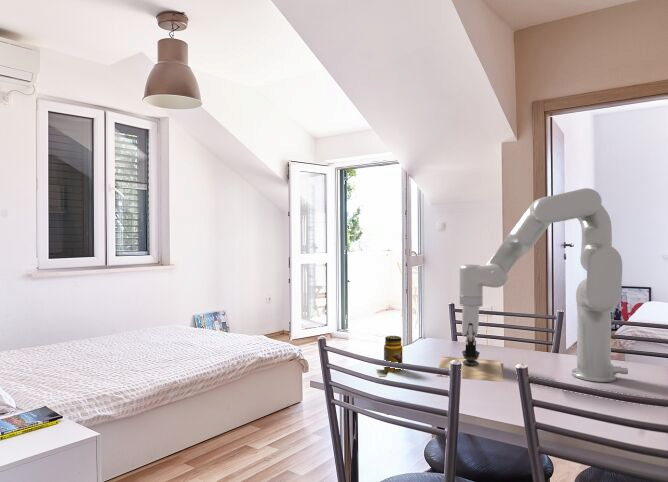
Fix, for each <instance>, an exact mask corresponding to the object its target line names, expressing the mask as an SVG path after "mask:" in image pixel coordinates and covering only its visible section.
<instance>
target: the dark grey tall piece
mask: <svg viewBox="0 0 668 482" xmlns="http://www.w3.org/2000/svg"><path fill="white" fill-rule="evenodd" d="M468 335H469V334H468ZM472 335H474V334H472ZM468 338H469V337H468ZM475 342H476V343H477V340H475ZM461 353H462V356H463V357H462V358H465V359H466V360H465V361H463V363H464V364H467V365H478V364H479V363H478V362H477V361H475V360H476V359H479V355H480V354H481V353H480V352H479V351H477V350H476V357H466V349H464V350H463V351H461Z"/></svg>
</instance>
